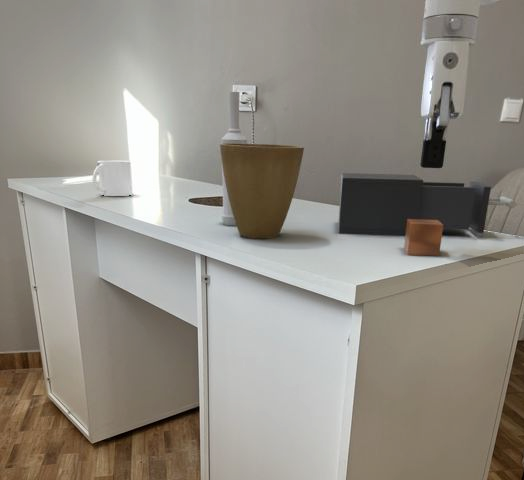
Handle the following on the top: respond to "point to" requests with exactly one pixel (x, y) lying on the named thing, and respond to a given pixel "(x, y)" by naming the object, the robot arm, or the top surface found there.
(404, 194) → the cabinet
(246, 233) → the plant pot
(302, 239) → the top surface
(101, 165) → the mug
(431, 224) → the block
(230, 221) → the bottle
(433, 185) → the drawer
